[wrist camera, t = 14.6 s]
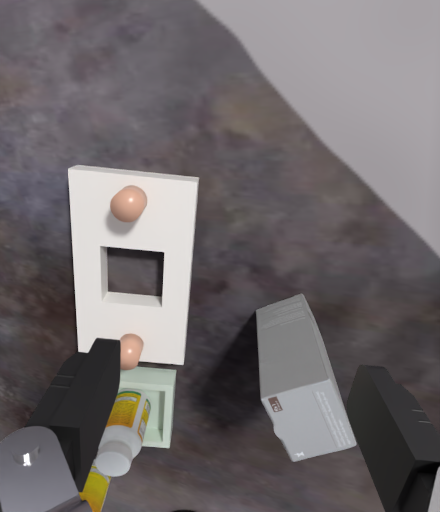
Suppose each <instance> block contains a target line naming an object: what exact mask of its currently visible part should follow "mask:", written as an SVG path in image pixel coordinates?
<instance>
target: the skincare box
mask: <svg viewBox="0 0 440 512" xmlns="http://www.w3.org/2000/svg"><path fill="white" fill-rule="evenodd" d="M256 320H257V338H258V356H259V377H260V396H261V401H262V403H263V405H264V407H265V409H266V411H267V413H268V415H269V417H270V419H271V421H272V423H273V425H274V432H275V434H276V436H277V437H278V438H280V439H281V441H282V443H283V445H284V447H285V449H286V451H287V453H288V455H289V457H290V459H291V460H292V461H293V462H295V461H298V460H302V459H306V458H310V457H314V456H318V455H322V454H326V453H331V452H335V451H339V450H344V449H347V448H350V447H353V446H356V445H357V444H356V441H355V438H354V435H353V432H352V429H351V426H350V423H349V420H348V417H347V414H346V411H345V408H344V405H343V402H342V399H341V396H340V393H339V390H338V386H337V383H336V380H335V377H334V374H333V371H332V368H331V365H330V361H329V358H328V355H327V352H326V349H325V346H324V342H323V340H322V337H321V334H320V332H319V329H318V326H317V324H316V321H315V319H314V317H313V314H312V312H311V310H310V308H309V305H308V303H307V301H306V299H305V297H304V295H303V294H299V295H296V296H293V297H291V298H288V299H285V300H282V301H280V302H277V303H274V304H271V305H268V306H266V307H263V308H260V309H258V310H256Z"/></svg>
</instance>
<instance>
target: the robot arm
mask: <svg viewBox="0 0 440 512" xmlns="http://www.w3.org/2000/svg"><path fill="white" fill-rule="evenodd" d="M120 364H121V342H120V340H116V339H106V338H96V339H95V341H94V343H93V345H92V346H91V348H90V350H89V352H88V353H85V352H76V353H75V354H74V355H73V356H71V357H70V358H69V359H67V360H66V361H65V362H64V363H63V365H62V366H61V368H60V370H59V371H58V373H57V376H55V378H54V380H53V381H52V383H51V386H50V387H49V388H48V389H47V391H46V393H45V394H44V396H43V398H42V399H41V401H40V403H39V404H38V406H37V408H36V409H35V411H34V412H33V414H32V416H31V417H30V419H29V421H28V422H27V424H26V426H25V427H24V428H23V429H20V430H17V431H15V432H13V433H12V434H10V435H9V436H7V437H6V438H5V439H4V440H3V441H1V443H0V512H93V511H92V509H91V507H90V505H89V503H88V501H87V500H83V501H82V499H81V497H80V495H79V493H78V492H83V489H84V486H85V484H86V481H87V478H88V475H89V472H90V470H91V467H92V464H93V461H94V458H95V456H96V453H97V450H98V447H99V445H100V442H101V439H102V436H103V433H104V431H105V428H106V425H107V422H108V419H109V417H110V414H111V411H112V408H113V406H114V403H115V400H116V397H117V394H118V390H119V384H120ZM347 415H348V419H349V422H350V424H351V427H352V429H353V432H354V434H355V437H356V439H357V442H358V444H359V447H360V449H361V452H362V454H363V457H364V459H365V462H366V464H367V467H368V469H369V472H370V474H371V477H372V479H373V482H374V485H375V487H376V490H377V492H378V495H379V497H380V500H381V502H382V505H383V507H384V510H385V512H440V435H439V434H438V432H437V431H436V429H435V428H434V426H433V425H432V424H430V420H429V418H428V417H427V415H426V414H425V413H424V412H423V409H422V408H421V406H420V405H419V403H418V402H417V400H416V398H415V397H414V396H413V395H412V394H411V393H410V392H409V391H408V390H406V389H405V388H404V387H403V386H402V385H401V384H395V382H394V380H393V379H392V377H391V375H390V374H389V372H388V371H387V369H386V368H385V367H379V366H369V365H360V366H359V367H358V369H357V372H356V375H355V378H354V381H353V384H352V388H351V391H350V394H349V397H348V400H347Z"/></svg>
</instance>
